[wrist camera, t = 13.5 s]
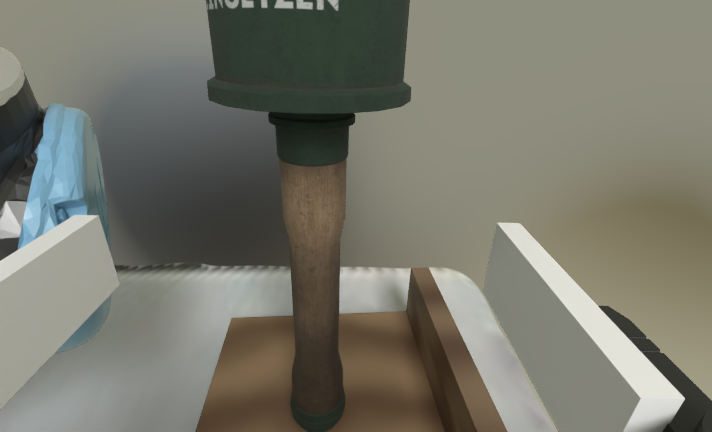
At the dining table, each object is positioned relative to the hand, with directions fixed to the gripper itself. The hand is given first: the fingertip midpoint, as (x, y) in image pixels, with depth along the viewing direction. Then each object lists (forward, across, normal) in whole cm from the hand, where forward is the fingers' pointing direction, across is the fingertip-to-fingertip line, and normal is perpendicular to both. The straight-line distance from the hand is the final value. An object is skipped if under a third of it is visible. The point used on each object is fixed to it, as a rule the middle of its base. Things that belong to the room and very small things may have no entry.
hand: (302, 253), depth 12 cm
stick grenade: (+6, 0, -17) cm, 18 cm away
